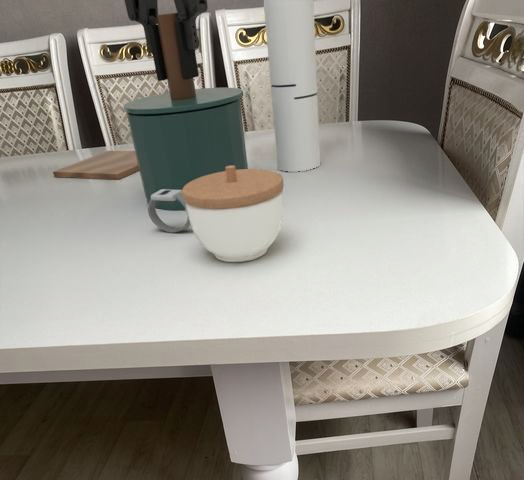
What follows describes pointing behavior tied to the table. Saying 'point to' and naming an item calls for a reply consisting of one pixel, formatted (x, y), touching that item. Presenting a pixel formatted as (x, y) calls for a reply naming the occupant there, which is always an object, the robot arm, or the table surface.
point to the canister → (186, 147)
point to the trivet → (102, 166)
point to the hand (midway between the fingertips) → (178, 78)
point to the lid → (178, 82)
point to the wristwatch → (166, 196)
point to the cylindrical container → (293, 82)
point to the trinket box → (236, 212)
